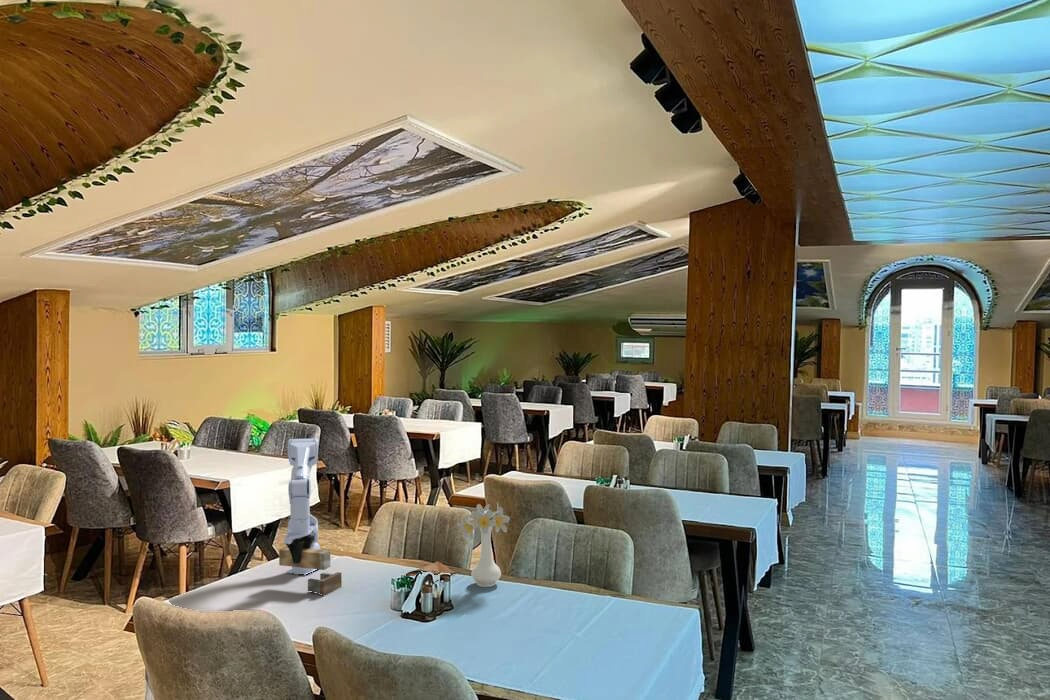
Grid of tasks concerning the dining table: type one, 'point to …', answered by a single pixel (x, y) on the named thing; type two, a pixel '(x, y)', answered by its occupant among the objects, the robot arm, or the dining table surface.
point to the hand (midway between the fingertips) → (300, 561)
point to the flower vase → (485, 542)
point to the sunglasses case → (432, 569)
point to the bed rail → (306, 558)
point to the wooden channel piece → (325, 583)
